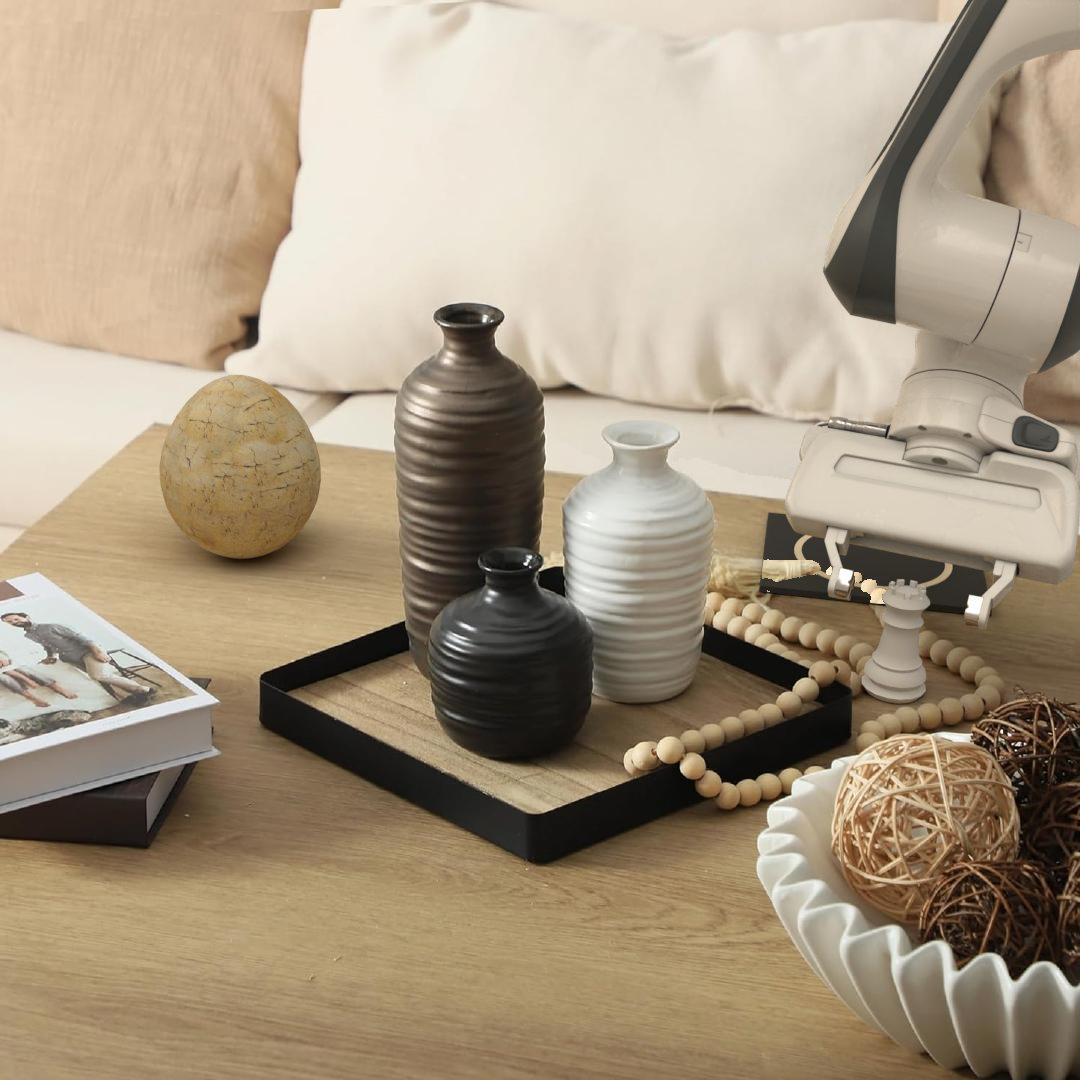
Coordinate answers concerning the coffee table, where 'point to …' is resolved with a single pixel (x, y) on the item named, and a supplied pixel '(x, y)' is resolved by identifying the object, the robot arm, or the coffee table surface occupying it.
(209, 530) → the fossilized egg
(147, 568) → the coffee table surface
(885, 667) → the rook chess piece
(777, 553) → the black circle mat
